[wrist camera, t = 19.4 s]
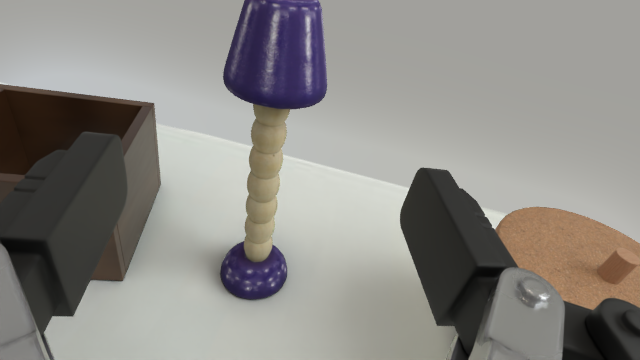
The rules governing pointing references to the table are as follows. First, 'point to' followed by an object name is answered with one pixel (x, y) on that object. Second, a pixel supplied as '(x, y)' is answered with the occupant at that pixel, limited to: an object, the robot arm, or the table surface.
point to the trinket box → (574, 254)
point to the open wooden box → (60, 133)
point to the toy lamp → (270, 122)
